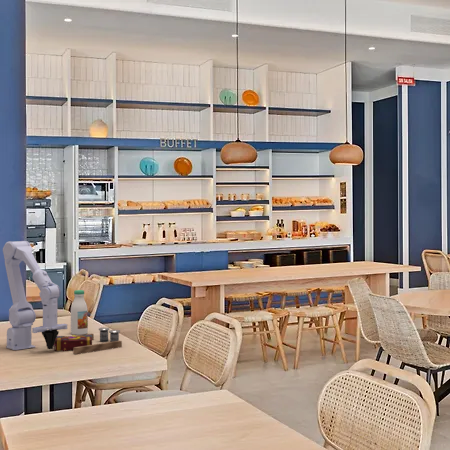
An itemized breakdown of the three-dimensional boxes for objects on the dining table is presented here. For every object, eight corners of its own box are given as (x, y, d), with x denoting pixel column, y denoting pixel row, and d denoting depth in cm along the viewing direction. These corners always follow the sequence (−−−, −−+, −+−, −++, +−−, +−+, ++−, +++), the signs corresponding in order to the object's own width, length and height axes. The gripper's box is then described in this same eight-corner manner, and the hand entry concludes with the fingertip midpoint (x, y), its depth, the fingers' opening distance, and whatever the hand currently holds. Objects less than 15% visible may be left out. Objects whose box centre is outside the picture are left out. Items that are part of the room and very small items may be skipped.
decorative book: (92, 350, 275) (92, 338, 275) (51, 352, 271) (51, 340, 271) (91, 345, 286) (91, 333, 286) (52, 346, 282) (52, 335, 282)
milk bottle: (71, 335, 306) (71, 291, 306) (70, 332, 314) (70, 289, 313) (88, 334, 308) (88, 291, 308) (87, 331, 316) (87, 289, 316)
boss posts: (113, 345, 284) (113, 332, 284) (96, 341, 293) (96, 328, 293) (122, 344, 287) (122, 330, 287) (105, 339, 297) (105, 327, 297)
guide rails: (75, 354, 266) (75, 348, 266) (46, 345, 283) (46, 339, 283) (121, 347, 281) (121, 341, 281) (91, 339, 298) (91, 333, 298)
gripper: (38, 318, 263) (38, 352, 263) (71, 314, 273) (71, 347, 273) (29, 316, 268) (29, 350, 268) (62, 312, 278) (62, 345, 278)
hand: (50, 348), depth 271 cm, fingers closed
